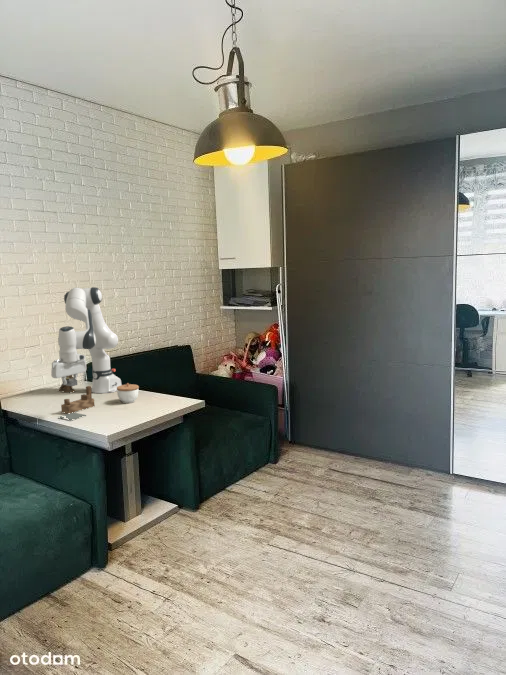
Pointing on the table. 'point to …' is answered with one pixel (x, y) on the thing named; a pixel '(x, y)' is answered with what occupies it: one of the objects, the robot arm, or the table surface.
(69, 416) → the felt mat
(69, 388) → the worn brown figurine
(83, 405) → the plane body
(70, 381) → the lever cap
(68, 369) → the robot arm
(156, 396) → the table surface
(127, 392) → the lidded bowl
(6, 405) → the table surface
